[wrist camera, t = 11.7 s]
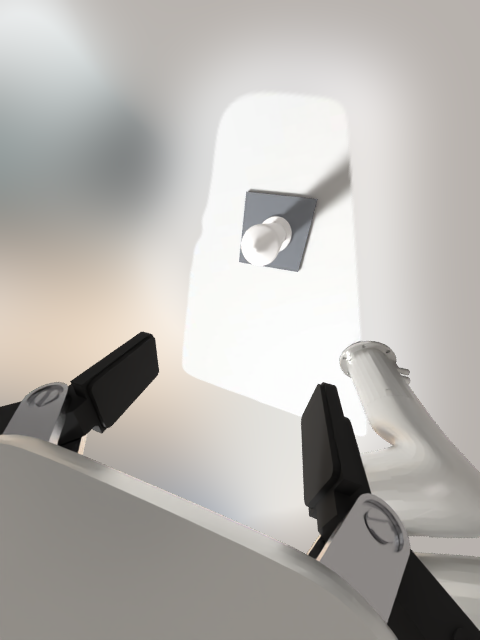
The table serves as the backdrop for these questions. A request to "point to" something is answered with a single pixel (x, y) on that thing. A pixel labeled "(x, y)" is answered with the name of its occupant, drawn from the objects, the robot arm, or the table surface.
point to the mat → (291, 210)
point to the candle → (266, 240)
